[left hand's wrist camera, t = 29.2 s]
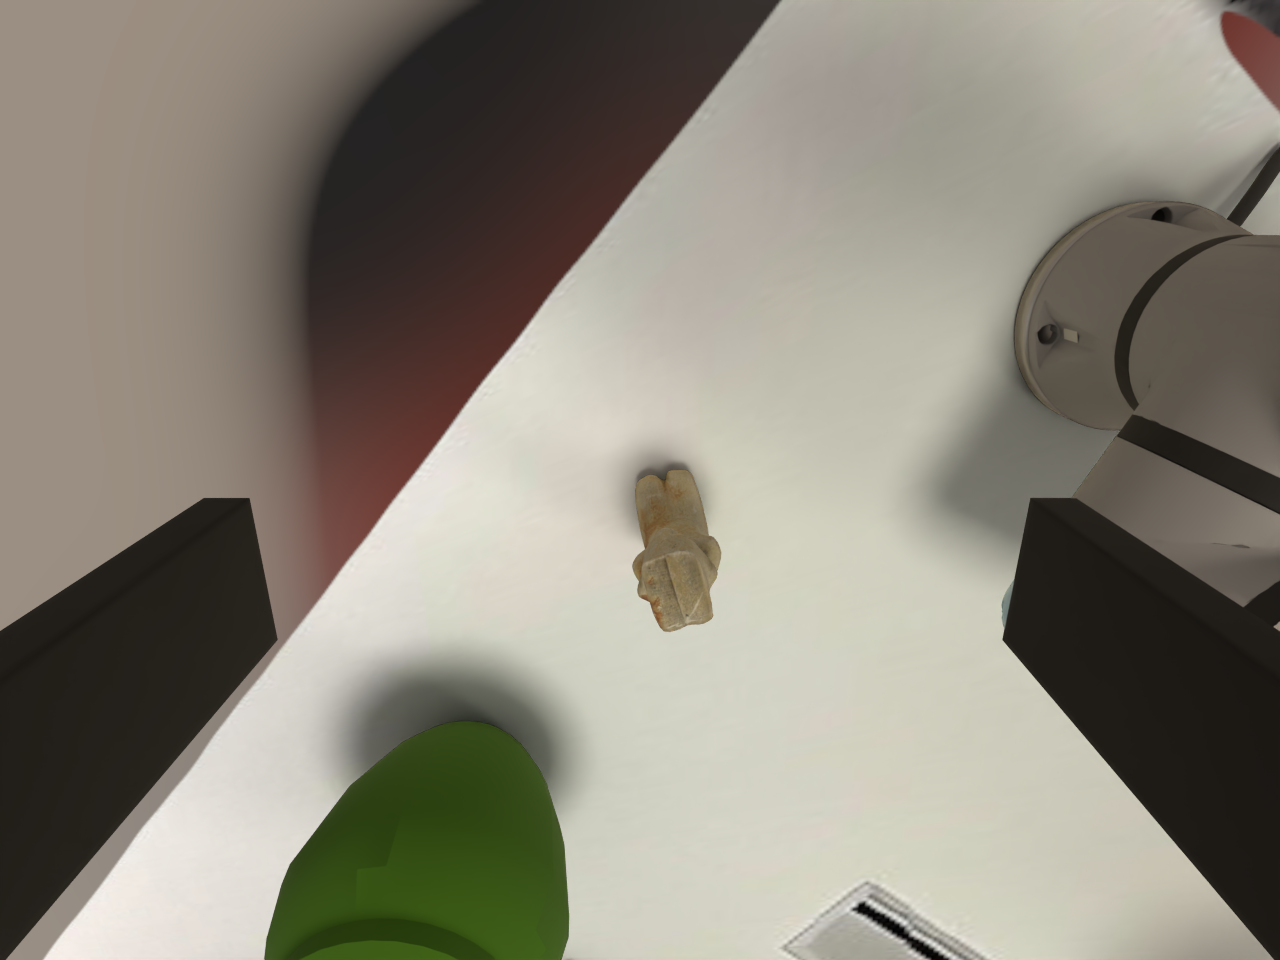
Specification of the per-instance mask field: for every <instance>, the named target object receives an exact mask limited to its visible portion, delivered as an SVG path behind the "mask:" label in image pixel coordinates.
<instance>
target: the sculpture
mask: <svg viewBox="0 0 1280 960" xmlns="http://www.w3.org/2000/svg"><path fill="white" fill-rule="evenodd" d="M635 492H636V505H637V512H638V520H639V525H640V530H641V534H642V539H643V543H644V547H645V550H644V551H642V552H641V553H640V554H639V555H638V556H637V557H636V558H635V560H634V562H633V566H632V568H633V571H634V574H635V576H636V577H637V579H638V581H639V584H638V589H637V591H638V595H639V597H641V598H642V599H644V600H647V601H649V602H650V604H651V608H652V611H653V614H654V616H655V618H656V620H657V622H658V624H659V626H660V628H661V629H662V630H663V631H665V632H671V631H675V630H678V629H681V628H683V627H685V626H687V625H692V624H703V623H706V622H708V621H709V620H711V619H712V617H713V613H712V603H711V598H710V594H709V591H710V588H711V586H712V584H713V583H714V581H715V580H716V578H717V570H718V567H719V563H720V559H721V550H720V547H719V545H718V542H717V541H716V540H715V538H714V537H712V536H709V535H708V527H707V523H706V518H705V514H704V510H703V506H702V502H701V499H700V495H699V492H698V489H697V486H696V484H695V481H694V478H693V475H692V474H691V473H690V472H689V471H687V470H671V471H668V473H667V475H666V479H665V480H661V479H660V478H658V477H657V476H655V475H647V476H645V477H644V478H642V479H640V480H639V481H638V483H637V485H636V490H635Z"/></svg>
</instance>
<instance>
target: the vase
mask: <svg viewBox="0 0 1280 960" xmlns="http://www.w3.org/2000/svg"><path fill="white" fill-rule="evenodd" d="M568 937H569V907H568V892H567V877H566V863H565V848H564V842H563V837H562V833H561V829H560V825H559V822H558V819H557V816H556V812H555V809H554V806H553V803H552V800H551V796H550V793H549V790H548V787H547V784H546V781H545V779H544V777H543V775H542V773H541V771H540V770H539V768H538V767H537V765H536V764H535V763H534V761H533V760H532V758H531V757H530V755H529V754H528V753H527V751H526V750H525V749H524V748H523V746H522V745H521V744H520V743H519V742H518V741H517V740H516V739H514V738H513V737H512V736H511V735H509V734H508V733H506V732H504V731H502V730H501V729H499V728H497V727H495V726H492V725H489V724H486V723H482V722H475V721H458V722H449V723H446V724H442V725H439V726H436V727H434V728H431V729H429V730H427V731H424V732H422V733H420V734H418V735H415V736H414V737H412V738H410V739H408V740H406V741H404V742H402V743H401V744H400V745H398V746H397V747H396V748H395V749H393V750H392V751H391V752H390V753H389V754H387V755H386V756H385V757H384V758H383V759H381V760H380V761H379V762H378V763H377V764H376V765H374V766H373V767H372V768H371V769H370V770H368V771H367V772H366V773H365V774H364V775H362V776H361V777H360V778H359V779H358V780H356V781H355V782H354V783H353V784H352V785H351V786H350V787H349V788H348V789H347V790H346V792H345V793H344V794H343V796H342V797H341V798H340V799H339V801H338V802H337V803H336V805H335V806H334V807H333V809H332V810H331V811H330V813H329V814H328V815H327V816H326V818H325V819H324V820H323V822H322V823H321V824H320V826H319V827H318V828H317V830H316V831H315V832H314V834H313V835H312V836H311V837H310V839H309V840H308V841H307V843H306V844H305V845H304V847H303V848H302V849H301V851H300V852H299V853H298V854H297V856H296V857H295V858H294V860H293V861H292V862H291V864H290V866H289V868H288V870H287V873H286V875H285V878H284V880H283V882H282V885H281V889H280V892H279V896H278V900H277V903H276V907H275V910H274V914H273V918H272V921H271V925H270V928H269V932H268V936H267V940H266V949H265V958H264V959H265V960H561V959H562V956H563V953H564V950H565V947H566V943H567V940H568Z"/></svg>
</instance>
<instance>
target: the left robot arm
mask: <svg viewBox="0 0 1280 960" xmlns="http://www.w3.org/2000/svg"><path fill="white" fill-rule="evenodd" d="M1279 172H1280V148H1279V149H1278V150H1277V151H1276V152H1275V153H1274V155H1273V156H1272V157H1271V158H1270V160H1269V161H1268V162H1267V163H1266V165H1265V166H1264V168H1263V169H1262V171H1261V172H1260V173H1259V175H1258V176H1257V178H1256V179H1255V181H1254V182H1253V184H1252V185H1251V187H1250V188H1249V190H1248V191H1247V192H1246V194H1245V195H1244V197H1243V198H1242V199H1241V201H1240V202H1239V203H1238V205H1237V206H1236V207H1235V209H1234V210H1233V211H1232V213H1231V214H1230V215H1229V217H1228V218H1227V219H1225V218H1224V217H1222V216H1220V215H1218V214H1217V213H1215V212H1213V211H1211V210H1209V209H1206V208H1204V207H1201V206H1198V205H1194V204H1190V203H1183V202H1141V203H1134V204H1128V205H1124V206H1120V207H1116V208H1113V209H1111V210H1108V211H1105V212H1103V213H1101V214H1099V215H1096V216H1094V217H1092V218H1091V219H1089V220H1087V221H1086V222H1084V223H1082V224H1081V225H1079V226H1078V227H1076V228H1075V229H1073V230H1072V231H1071V232H1070V233H1068V234H1067V235H1066V236H1065V237H1064V238H1062V239H1061V240H1060V241H1059V242H1058V243H1057V244H1056V245H1055V246H1054V247H1053V248H1052V249H1051V251H1050V252H1049V253H1048V254H1047V255H1046V256H1045V258H1044V259H1043V260H1042V262H1041V263H1040V264H1039V266H1038V267H1037V269H1036V270H1035V272H1034V274H1033V275H1032V277H1031V279H1030V281H1029V283H1028V285H1027V287H1026V289H1025V291H1024V294H1023V296H1022V299H1021V302H1020V305H1019V309H1018V313H1017V318H1016V325H1015V351H1016V357H1017V362H1018V365H1019V368H1020V371H1021V373H1022V376H1023V378H1024V380H1025V382H1026V383H1027V385H1028V387H1029V388H1030V390H1031V391H1032V392H1033V394H1034V395H1035V396H1036V397H1037V398H1038V399H1039V400H1040V401H1041V402H1042V403H1043V404H1044V405H1046V406H1047V407H1048V408H1050V409H1051V410H1053V411H1054V412H1056V413H1058V414H1060V415H1062V416H1064V417H1066V418H1068V419H1070V420H1072V421H1074V422H1077V423H1079V424H1082V425H1084V426H1087V427H1092V428H1096V429H1102V430H1121V431H1120V432H1119V434H1118V435H1117V436H1116V437H1115V438H1114V440H1113V441H1112V442H1111V444H1110V445H1109V447H1108V448H1107V449H1106V451H1105V452H1104V454H1103V455H1102V456H1101V458H1100V459H1099V461H1098V462H1097V463H1096V465H1095V466H1094V467H1093V469H1092V470H1091V472H1090V473H1089V474H1088V476H1087V477H1086V479H1085V480H1084V481H1083V483H1082V484H1081V486H1080V487H1079V488H1078V490H1077V491H1076V493H1075V494H1074V495H1073V497H1072V498H1030V503H1029V508H1028V513H1027V519H1026V524H1025V529H1024V534H1023V539H1022V544H1021V549H1020V554H1019V559H1018V564H1017V569H1016V574H1015V579H1014V581H1013V582H1012V584H1011V585H1010V587H1009V588H1008V590H1007V592H1006V593H1005V595H1004V598H1003V601H1002V622H1003V626H1004V635H1003V641H1004V642H1005V643H1006V645H1007V646H1008V647H1009V648H1010V649H1011V650H1012V652H1013V653H1014V654H1015V655H1016V656H1017V658H1018V659H1019V660H1020V661H1021V662H1022V663H1023V665H1024V666H1025V667H1026V668H1027V669H1028V670H1029V672H1030V673H1031V674H1032V675H1033V676H1034V678H1035V679H1036V680H1037V681H1038V682H1039V683H1040V685H1041V686H1042V687H1043V688H1044V689H1045V690H1046V692H1047V693H1048V694H1049V695H1050V696H1051V698H1052V699H1053V700H1054V701H1055V702H1056V703H1057V705H1058V706H1059V707H1060V708H1061V709H1062V710H1063V712H1064V713H1065V714H1066V715H1067V716H1068V718H1069V719H1070V720H1071V721H1072V722H1073V723H1074V725H1075V726H1076V727H1077V728H1078V729H1079V730H1080V732H1081V733H1082V734H1083V735H1084V736H1085V738H1086V739H1087V740H1088V741H1089V742H1090V743H1091V745H1092V746H1093V747H1094V748H1095V749H1096V750H1097V752H1098V753H1099V754H1100V755H1101V756H1102V758H1103V759H1104V760H1105V761H1106V762H1107V763H1108V765H1109V766H1110V767H1111V768H1112V769H1113V770H1114V772H1115V773H1116V774H1117V775H1118V776H1119V778H1120V779H1121V780H1122V781H1123V782H1124V783H1125V785H1126V786H1127V787H1128V788H1129V789H1130V790H1131V792H1132V793H1133V794H1134V795H1135V796H1136V798H1137V799H1138V800H1139V801H1140V802H1141V803H1142V805H1143V806H1144V807H1145V808H1146V809H1147V810H1148V812H1149V813H1150V814H1151V815H1152V816H1153V818H1154V819H1155V820H1156V821H1157V822H1158V823H1159V825H1160V826H1161V827H1162V828H1163V829H1164V830H1165V832H1166V833H1167V834H1168V835H1169V836H1170V838H1171V839H1172V840H1173V841H1174V842H1175V843H1176V845H1177V846H1178V847H1179V848H1180V849H1181V850H1182V852H1183V853H1184V854H1185V855H1186V856H1187V858H1188V859H1189V860H1190V861H1191V862H1192V863H1193V865H1194V866H1195V867H1196V868H1197V869H1198V870H1199V872H1200V873H1201V874H1202V875H1203V876H1204V878H1205V879H1206V880H1207V881H1208V882H1209V883H1210V885H1211V886H1212V887H1213V888H1214V889H1215V890H1216V892H1217V893H1218V894H1219V895H1220V896H1221V898H1222V899H1223V900H1224V901H1225V902H1226V903H1227V905H1228V906H1229V907H1230V908H1231V909H1232V910H1233V912H1234V913H1235V914H1236V915H1237V916H1238V918H1239V919H1240V920H1241V921H1242V922H1243V923H1244V925H1245V926H1246V927H1247V928H1248V929H1249V930H1250V932H1251V933H1252V934H1253V935H1254V936H1255V938H1256V939H1257V940H1258V941H1259V942H1260V943H1261V945H1262V946H1263V947H1264V948H1265V949H1266V950H1267V952H1268V953H1269V954H1270V955H1271V956H1272V958H1273V959H1274V960H1280V236H1278V235H1253V234H1252V233H1250V232H1248V231H1246V230H1245V229H1243V228H1241V227H1240V226H1241V225H1242V224H1243V222H1244V221H1245V220H1246V218H1247V217H1248V216H1249V214H1250V213H1251V212H1252V210H1253V209H1254V208H1255V206H1256V205H1257V204H1258V202H1259V201H1260V199H1261V198H1262V197H1263V195H1264V194H1265V193H1266V191H1267V190H1268V188H1269V187H1270V185H1271V184H1272V182H1273V181H1274V179H1275V178H1276V176H1277V175H1278V173H1279ZM276 641H277V635H276V629H275V624H274V619H273V614H272V609H271V604H270V599H269V594H268V589H267V584H266V579H265V574H264V569H263V564H262V559H261V554H260V549H259V544H258V539H257V534H256V529H255V524H254V519H253V513H252V509H251V503H250V499H249V498H203V499H202V500H200V501H199V502H197V503H196V504H194V505H193V506H191V507H190V508H188V509H187V510H185V511H183V512H182V513H180V514H179V515H177V516H176V517H174V518H173V519H171V520H170V521H168V522H167V523H165V524H163V525H162V526H160V527H159V528H157V529H156V530H154V531H153V532H151V533H150V534H148V535H147V536H145V537H144V538H142V539H141V540H139V541H137V542H136V543H134V544H133V545H131V546H130V547H128V548H127V549H125V550H124V551H122V552H121V553H119V554H118V555H116V556H115V557H113V558H111V559H110V560H108V561H107V562H105V563H104V564H102V565H101V566H99V567H98V568H96V569H95V570H93V571H92V572H90V573H88V574H87V575H86V576H84V577H82V578H81V579H79V580H78V581H76V582H75V583H73V584H72V585H70V586H69V587H67V588H65V589H64V590H62V591H61V592H59V593H58V594H56V595H55V596H53V597H52V598H50V599H49V600H47V601H46V602H44V603H43V604H41V605H39V606H38V607H36V608H35V609H33V610H32V611H30V612H29V613H27V614H26V615H24V616H23V617H21V618H20V619H18V620H16V621H15V622H13V623H12V624H10V625H9V626H7V627H6V628H4V629H3V630H1V631H0V960H6V959H7V957H8V956H9V955H10V954H11V953H12V952H13V950H14V949H15V948H16V947H17V946H18V945H19V943H20V942H21V941H22V940H23V939H24V938H25V936H26V935H27V934H28V933H29V932H30V930H31V929H32V928H33V927H34V926H35V925H36V923H37V922H38V921H39V920H40V919H41V918H42V916H43V915H44V914H45V913H46V912H47V910H48V909H49V908H50V907H51V906H52V905H53V903H54V902H55V901H56V900H57V899H58V897H59V896H60V895H61V894H62V893H63V892H64V890H65V889H66V888H67V887H68V886H69V885H70V883H71V882H72V881H73V880H74V879H75V878H76V876H77V875H78V874H79V873H80V872H81V870H82V869H83V868H84V867H85V866H86V865H87V863H88V862H89V861H90V860H91V859H92V858H93V856H94V855H95V854H96V853H97V852H98V850H99V849H100V848H101V847H102V846H103V845H104V843H105V842H106V841H107V840H108V839H109V838H110V836H111V835H112V834H113V833H114V832H115V830H116V829H117V828H118V827H119V826H120V824H121V823H122V822H123V821H124V820H125V819H126V818H127V816H128V815H129V814H130V813H131V812H132V810H133V809H134V808H135V807H136V806H137V805H138V803H139V802H140V801H141V800H142V799H143V798H144V796H145V795H146V794H147V793H148V792H149V790H150V789H151V788H152V787H153V786H154V785H155V783H156V782H157V781H158V780H159V779H160V778H161V776H162V775H163V774H164V773H165V772H166V770H167V769H168V768H169V767H170V766H171V765H172V763H173V762H174V761H175V760H176V759H177V758H178V756H179V755H180V754H181V753H182V752H183V750H184V749H185V748H186V747H187V746H188V745H189V743H190V742H191V741H192V740H193V739H194V738H195V736H196V735H197V734H198V733H199V732H200V730H201V729H202V728H203V727H204V726H205V725H206V723H207V722H208V721H209V720H210V719H211V718H212V716H213V715H214V714H215V713H216V712H217V710H218V709H219V708H220V707H221V706H222V705H223V703H224V702H225V701H226V700H227V699H228V698H229V696H230V695H231V694H232V693H233V692H234V690H235V689H236V688H237V687H238V686H239V685H240V683H241V682H242V681H243V680H244V679H245V678H246V676H247V675H248V674H249V673H250V672H251V670H252V669H253V668H254V667H255V666H256V665H257V663H258V662H259V661H260V660H261V659H262V657H263V656H264V655H265V654H266V653H267V652H268V650H269V649H270V648H271V647H272V646H273V645H274V643H275V642H276Z"/></svg>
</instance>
